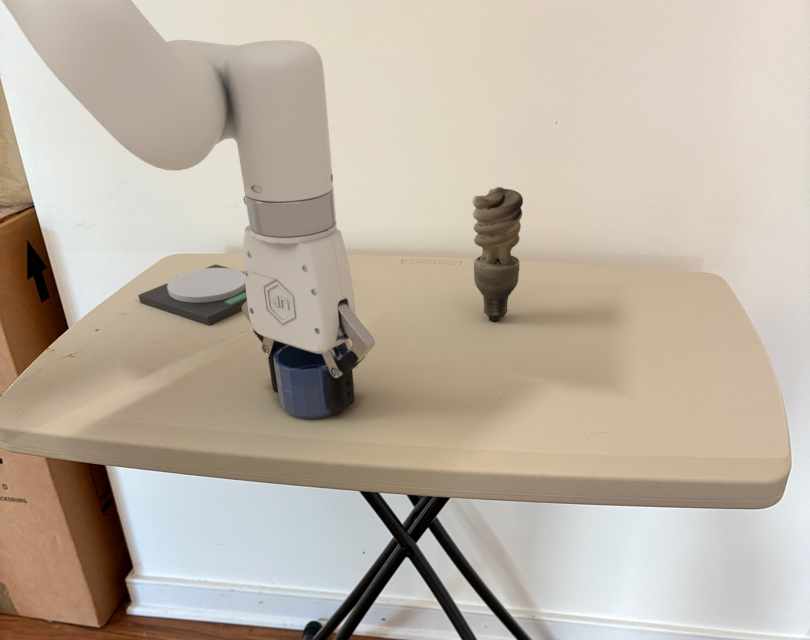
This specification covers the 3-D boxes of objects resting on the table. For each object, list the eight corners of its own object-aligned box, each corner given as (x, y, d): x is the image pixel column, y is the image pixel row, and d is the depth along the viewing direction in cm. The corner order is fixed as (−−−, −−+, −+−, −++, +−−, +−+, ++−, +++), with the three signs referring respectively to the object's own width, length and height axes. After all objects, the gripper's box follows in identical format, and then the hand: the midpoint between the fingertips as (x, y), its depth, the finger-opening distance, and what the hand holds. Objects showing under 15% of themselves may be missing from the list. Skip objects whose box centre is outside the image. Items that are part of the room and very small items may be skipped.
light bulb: (466, 326, 91) (469, 193, 81) (473, 308, 95) (476, 180, 85) (513, 329, 90) (521, 195, 80) (518, 311, 94) (527, 181, 84)
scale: (211, 336, 91) (206, 310, 89) (142, 313, 97) (136, 288, 95) (286, 301, 99) (283, 276, 97) (218, 281, 105) (214, 258, 103)
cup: (317, 428, 73) (311, 377, 70) (267, 409, 77) (258, 359, 73) (361, 400, 77) (357, 350, 74) (312, 382, 81) (306, 334, 77)
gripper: (191, 208, 67) (227, 389, 78) (340, 242, 59) (356, 439, 70) (252, 188, 72) (277, 362, 83) (398, 217, 63) (404, 405, 75)
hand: (313, 396), depth 76 cm, fingers closed on cup, 6 cm apart
